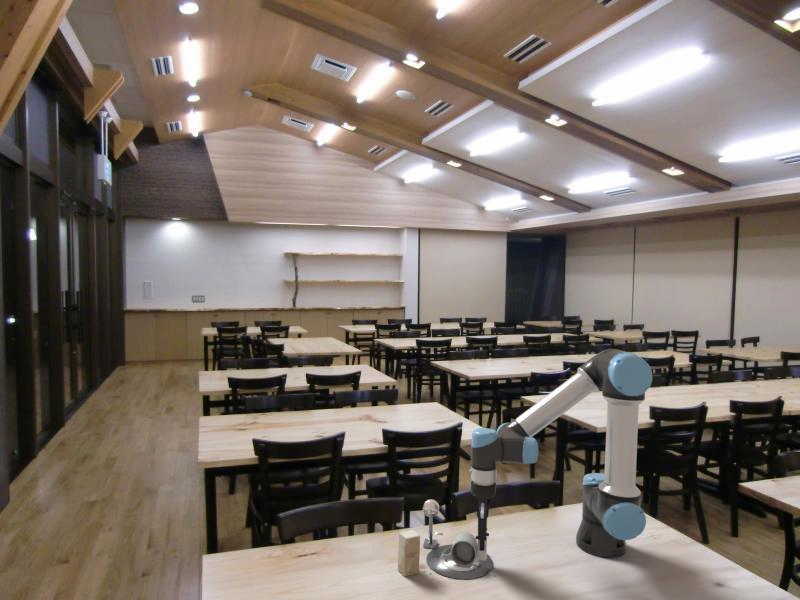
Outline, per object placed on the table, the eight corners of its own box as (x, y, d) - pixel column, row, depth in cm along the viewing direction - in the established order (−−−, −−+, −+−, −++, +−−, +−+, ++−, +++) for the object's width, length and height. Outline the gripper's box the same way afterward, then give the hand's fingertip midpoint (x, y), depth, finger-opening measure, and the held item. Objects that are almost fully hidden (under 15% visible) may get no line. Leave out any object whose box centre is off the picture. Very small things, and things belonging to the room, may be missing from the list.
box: (404, 577, 150) (404, 538, 150) (397, 569, 154) (397, 532, 154) (420, 572, 153) (420, 535, 152) (412, 565, 157) (413, 528, 156)
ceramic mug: (477, 554, 163) (477, 530, 163) (476, 568, 155) (476, 542, 155) (443, 551, 165) (443, 527, 165) (440, 564, 157) (440, 539, 157)
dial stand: (443, 543, 170) (444, 499, 170) (442, 549, 167) (442, 504, 166) (423, 541, 172) (424, 497, 171) (421, 547, 168) (422, 502, 168)
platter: (493, 549, 167) (493, 548, 167) (491, 583, 148) (491, 582, 148) (431, 542, 171) (431, 541, 171) (421, 574, 152) (421, 573, 152)
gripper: (472, 472, 165) (470, 547, 165) (469, 488, 152) (467, 568, 152) (496, 474, 163) (494, 550, 164) (495, 490, 150) (494, 571, 151)
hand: (481, 558), depth 158 cm, fingers closed
